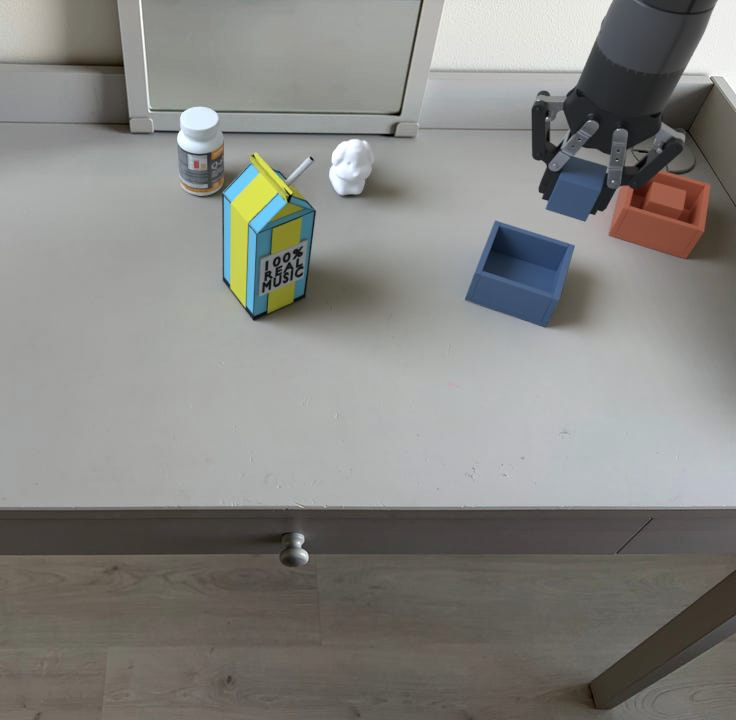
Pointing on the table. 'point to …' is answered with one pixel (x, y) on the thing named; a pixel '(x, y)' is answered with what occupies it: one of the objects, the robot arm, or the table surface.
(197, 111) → the pill bottle
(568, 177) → the slate-blue block
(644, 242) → the terracotta bin
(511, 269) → the slate bin
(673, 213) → the terracotta block
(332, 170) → the figurine
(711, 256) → the table surface
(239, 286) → the carton
